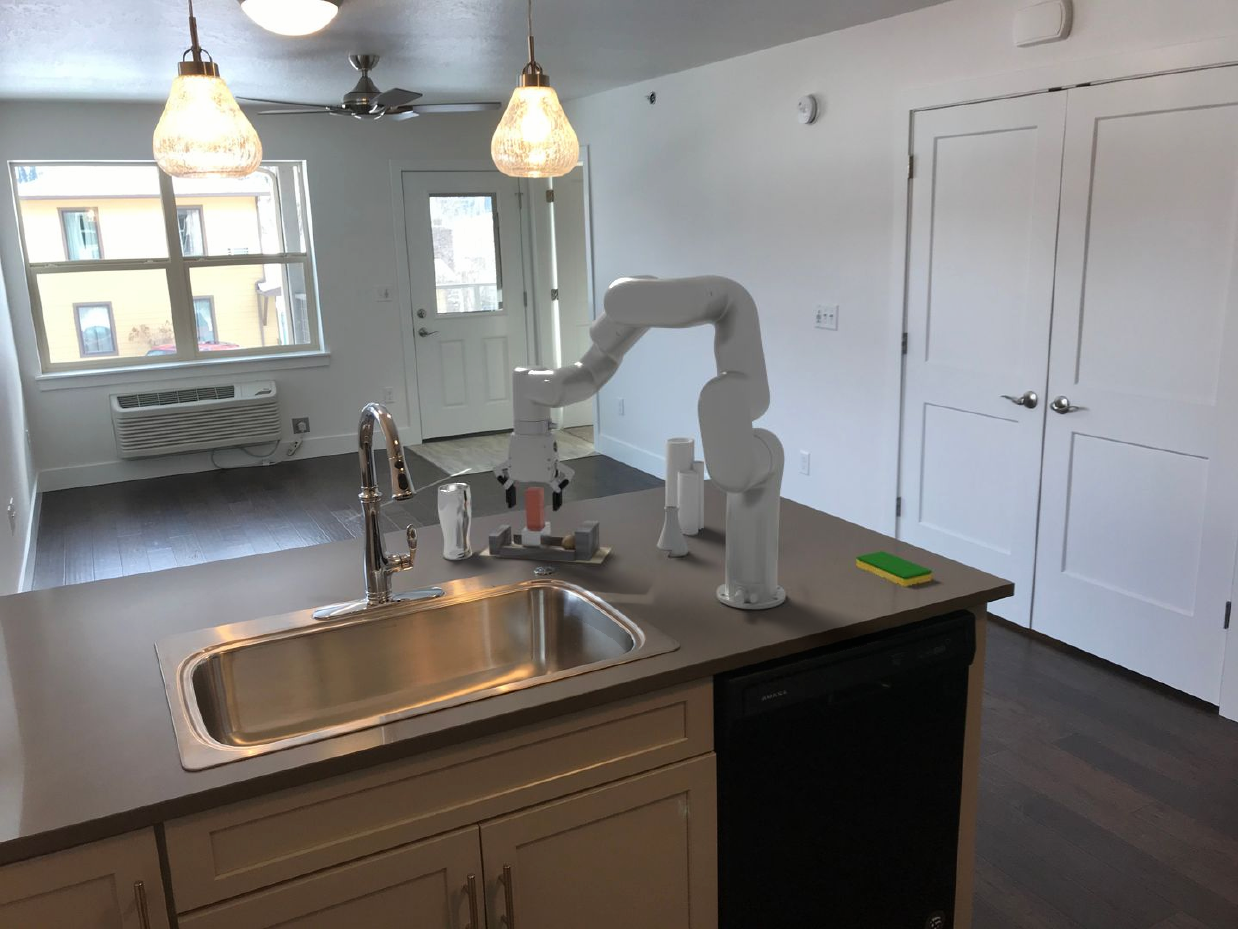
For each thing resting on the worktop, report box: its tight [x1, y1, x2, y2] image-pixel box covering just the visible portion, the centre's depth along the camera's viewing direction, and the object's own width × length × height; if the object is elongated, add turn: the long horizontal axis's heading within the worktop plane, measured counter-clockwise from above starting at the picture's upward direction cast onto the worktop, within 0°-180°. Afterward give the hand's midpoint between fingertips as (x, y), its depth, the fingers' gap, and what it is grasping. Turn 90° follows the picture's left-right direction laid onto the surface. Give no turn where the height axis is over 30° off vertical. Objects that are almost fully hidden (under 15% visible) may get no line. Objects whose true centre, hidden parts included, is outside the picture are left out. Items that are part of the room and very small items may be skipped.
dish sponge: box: [856, 550, 933, 587], centre depth 190 cm, size 7×14×2 cm, turn 27°
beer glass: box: [437, 482, 473, 561], centre depth 202 cm, size 7×7×15 cm
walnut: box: [562, 534, 575, 550], centre depth 199 cm, size 4×4×4 cm
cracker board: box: [478, 520, 613, 564], centre depth 200 cm, size 10×26×8 cm, turn 77°
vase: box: [664, 437, 705, 536], centre depth 219 cm, size 11×7×20 cm, turn 27°
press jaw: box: [520, 486, 552, 549], centre depth 200 cm, size 7×4×13 cm, turn 167°
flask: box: [656, 505, 689, 558], centre depth 203 cm, size 7×7×10 cm
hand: (534, 508), depth 199 cm, fingers open, 9 cm apart
